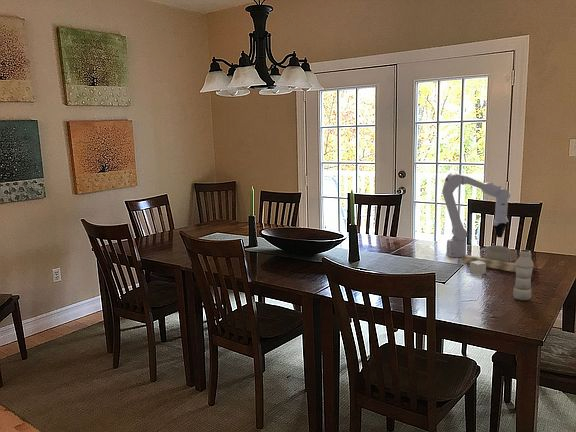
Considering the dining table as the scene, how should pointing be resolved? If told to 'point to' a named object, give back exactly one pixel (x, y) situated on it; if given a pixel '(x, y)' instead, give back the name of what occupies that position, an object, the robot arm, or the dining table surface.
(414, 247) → the dining table surface
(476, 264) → the grey block
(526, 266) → the plastic bottle
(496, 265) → the bar
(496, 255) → the teacup
